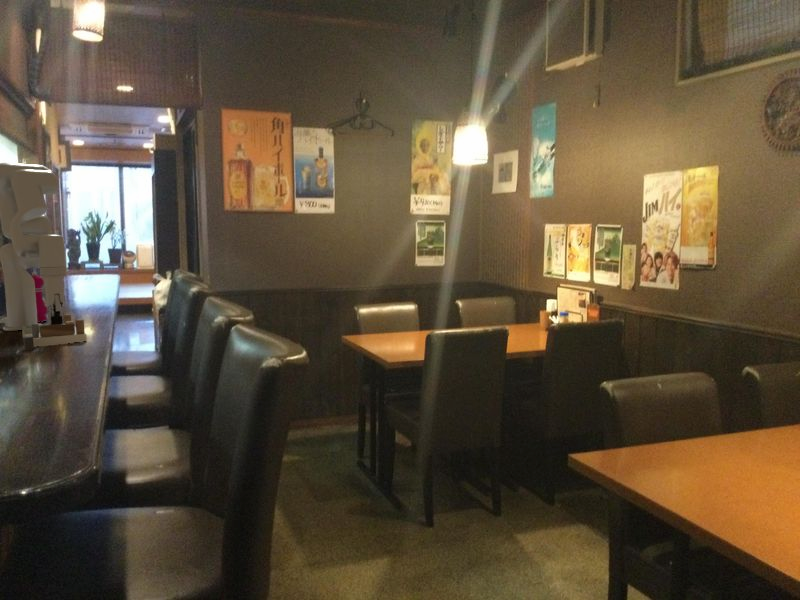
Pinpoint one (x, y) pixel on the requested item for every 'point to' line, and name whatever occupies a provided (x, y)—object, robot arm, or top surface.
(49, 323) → the leg peg
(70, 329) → the hinged leg
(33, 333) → the seat board
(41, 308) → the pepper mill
